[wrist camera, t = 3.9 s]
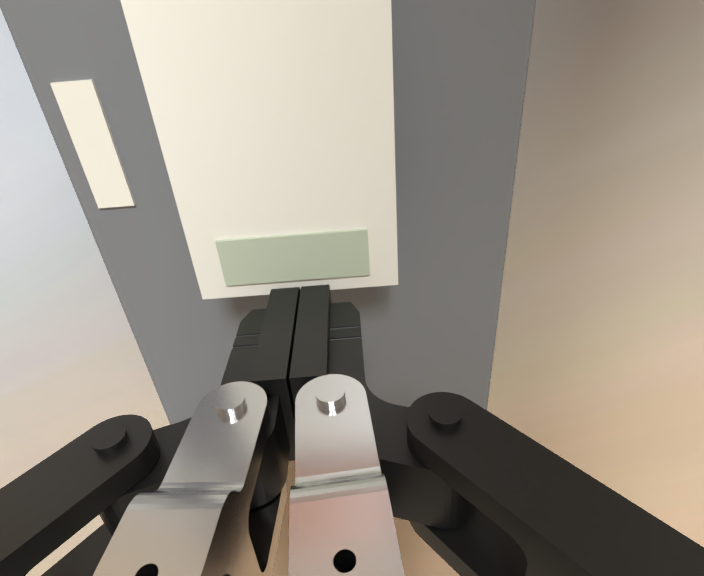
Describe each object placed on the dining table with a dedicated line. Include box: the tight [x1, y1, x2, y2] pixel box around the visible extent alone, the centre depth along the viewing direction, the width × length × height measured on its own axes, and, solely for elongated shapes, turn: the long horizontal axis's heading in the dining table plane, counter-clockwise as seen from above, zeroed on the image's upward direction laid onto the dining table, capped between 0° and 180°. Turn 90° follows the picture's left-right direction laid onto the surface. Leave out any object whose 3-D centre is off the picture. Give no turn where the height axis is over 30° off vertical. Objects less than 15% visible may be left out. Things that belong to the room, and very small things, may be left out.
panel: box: [0, 0, 536, 425], centre depth 13 cm, size 25×12×4 cm, turn 4°
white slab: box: [120, 0, 398, 299], centre depth 10 cm, size 7×5×1 cm
